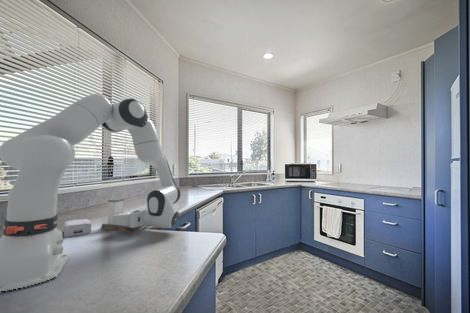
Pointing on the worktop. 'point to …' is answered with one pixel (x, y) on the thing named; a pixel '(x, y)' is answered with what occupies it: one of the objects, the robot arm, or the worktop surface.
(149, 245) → the worktop surface
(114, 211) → the white upright block
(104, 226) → the track
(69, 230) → the charger
